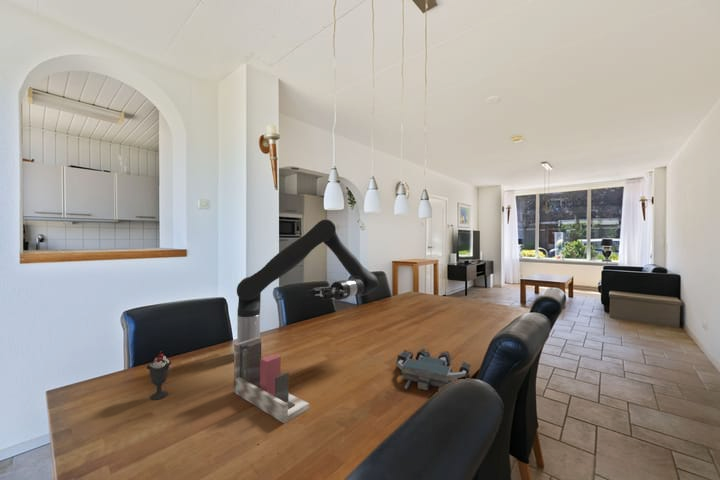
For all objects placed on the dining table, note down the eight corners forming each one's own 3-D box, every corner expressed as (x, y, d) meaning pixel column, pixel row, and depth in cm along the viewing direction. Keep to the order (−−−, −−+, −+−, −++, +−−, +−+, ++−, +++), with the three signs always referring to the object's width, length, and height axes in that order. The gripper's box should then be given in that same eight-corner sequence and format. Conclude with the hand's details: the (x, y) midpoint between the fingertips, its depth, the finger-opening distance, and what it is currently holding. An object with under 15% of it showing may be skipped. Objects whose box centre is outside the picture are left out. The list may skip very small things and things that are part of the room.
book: (260, 396, 93) (260, 358, 93) (274, 390, 97) (274, 353, 97) (266, 400, 91) (266, 361, 90) (280, 394, 95) (281, 356, 95)
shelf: (233, 392, 98) (234, 342, 98) (258, 381, 105) (258, 335, 105) (284, 423, 82) (284, 364, 82) (308, 408, 90) (309, 354, 89)
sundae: (159, 402, 92) (159, 354, 91) (141, 399, 93) (141, 352, 93) (176, 391, 98) (176, 346, 98) (159, 389, 99) (159, 344, 99)
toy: (471, 355, 121) (469, 377, 94) (470, 377, 120) (468, 405, 93) (406, 342, 131) (386, 359, 104) (404, 362, 131) (384, 384, 103)
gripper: (331, 278, 127) (302, 283, 114) (357, 282, 118) (329, 287, 105) (331, 296, 127) (302, 302, 114) (357, 301, 118) (329, 308, 106)
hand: (315, 295), depth 110 cm, fingers open, 8 cm apart
